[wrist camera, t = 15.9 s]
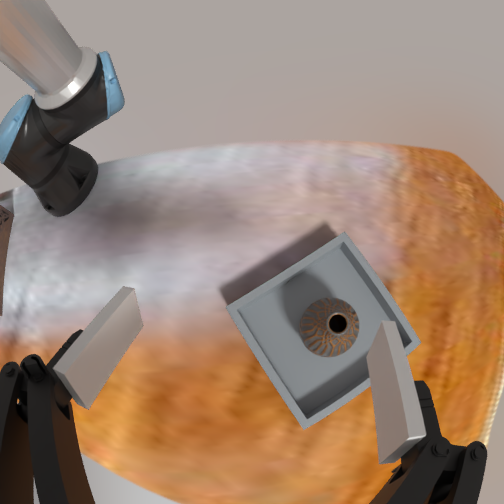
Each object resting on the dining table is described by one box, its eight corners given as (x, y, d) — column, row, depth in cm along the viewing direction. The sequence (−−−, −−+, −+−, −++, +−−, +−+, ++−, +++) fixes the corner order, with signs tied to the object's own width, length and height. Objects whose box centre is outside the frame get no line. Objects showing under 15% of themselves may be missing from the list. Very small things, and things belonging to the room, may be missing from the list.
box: (230, 310, 36) (225, 306, 33) (339, 241, 38) (344, 231, 35) (301, 422, 30) (303, 429, 27) (409, 343, 32) (421, 342, 29)
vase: (288, 318, 34) (290, 309, 26) (334, 293, 35) (350, 276, 26) (312, 366, 32) (322, 371, 24) (359, 339, 32) (382, 335, 24)
